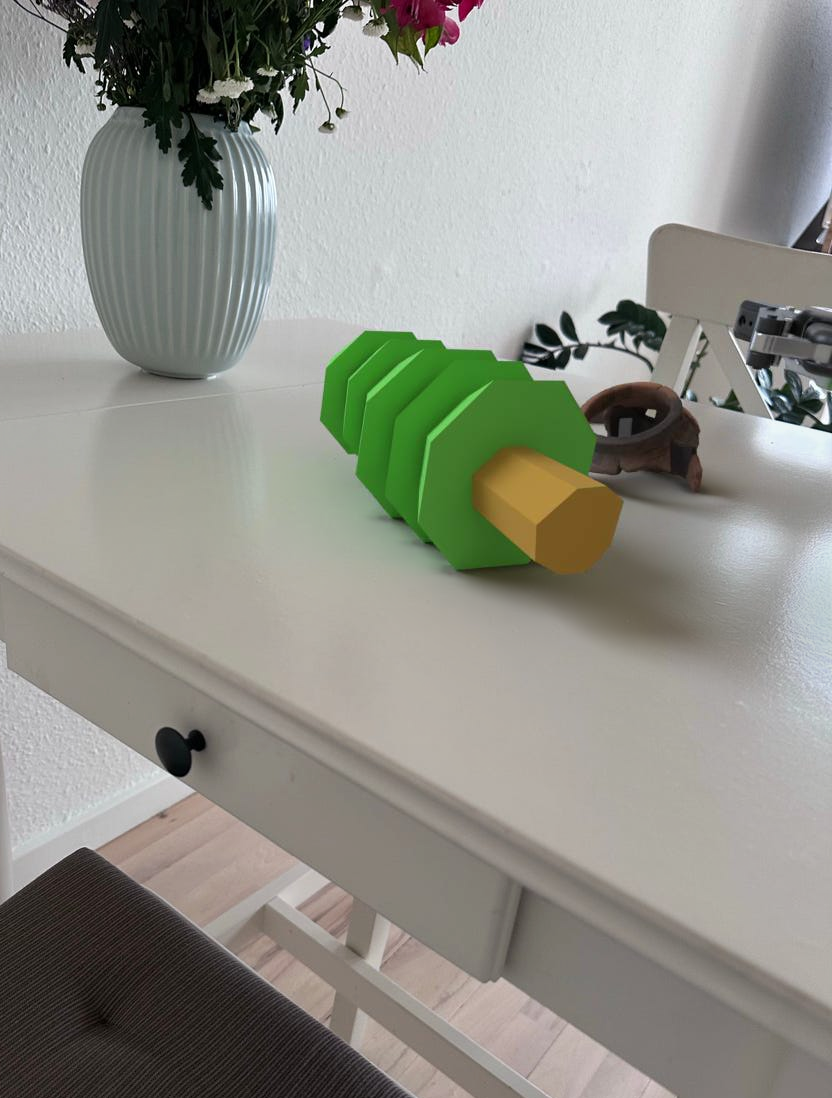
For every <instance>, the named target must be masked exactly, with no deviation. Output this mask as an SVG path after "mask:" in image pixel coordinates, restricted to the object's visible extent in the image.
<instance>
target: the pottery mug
mask: <svg viewBox="0 0 832 1098" xmlns="http://www.w3.org/2000/svg"><path fill="white" fill-rule="evenodd" d="M581 405H582V407H581V408H580V409H581V410H582V412H583V414H584V416H585V417H586V419H587V421H588V422H589V421H590V420H592V419H593V418H594V417H595V416H597V415H598V414H599V413H601V412H604V411H605V412H604V414H603V420H604V423H603V425H604V429H605V431H606V436H605V435H604V434H599V433H596V432H594V433H595V435H596V436H597V441H596V445H595V449H594V454H593V458H592V462H591V466H590V470H589V473H593V474H599V475H608V476H613V477H614V476H618V475H621V473H622V471H624V472H625V473H627V474H631V473H637V472H639V471H643V470H644V471H647V472H652V473H665V474H669V475H671V476H678V477H681V478H683V479H684V480H685V481H686V482H687V483H688V484H689V486H690V488H691V492H693V493H695V494H698V493H699V492H700V487H701V483H702V480H703V467H702V464H701V460H700V457H699V454H698V447H700V436H699V435H700V433H701V428H700V425H699V423H698V420H697V419H696V417H694V415H692V413H691V412H690V411H689V410H688V409H687V407H684V406H683V400H682V399H681V398H680V396H679V394H678V393H677V392H676V391H674V390H673V389H672V388H671V387H669V386H667V385H663V384H661V383H658V382H651V381H633V382H627V383H621V384H615V385H614V386H613V385H612V386H611V387H608V388H605V389H604V390H602V391H600V392H598V393H596V394H595V395H594V394H593V396H591V397H590V398H589V399H587V400H586V402H585V403H583V404H581ZM648 410H650V411H651V410H652V411H655V415H654V417H653V416H650V415H648V414H647V412H648Z"/></svg>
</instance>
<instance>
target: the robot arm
mask: <svg viewBox="0 0 832 1098" xmlns="http://www.w3.org/2000/svg"><path fill="white" fill-rule="evenodd" d="M732 333H733V337H734V338H735V339H738V340H741V341H744V342H748V343H749V345H748V348H747V352H746V359H745V365H746V366H749V367H751V369H753V370H757V371H762V370H763V369H764V370H765V369H766V370H767V369H770V368H771V367H774V368H778V367H780V364H781V361H782V359H784V365H785V369H786V370H788V371H790V372H792V373H795V374H798V375H801V376H804V377H806V378H809V379H811V380H813V381H814V383H815V385H816V386H817V387H818V388H821V389H824V390H827V391H829V392H832V308H829V307H821V306H813V305H806V306H804V307H802V309H801V310H799V309H796V307H795V306H789V305H786V306H784V305H780V304H777V303H773V302H769V301H759V300H750V299H749V300H748V299H745V300H744V301H742V302H741V303H740V306H739V308H738V311H737V315H736V318H735V322H734V325H733V329H732Z"/></svg>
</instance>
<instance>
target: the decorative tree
mask: <svg viewBox="0 0 832 1098" xmlns="http://www.w3.org/2000/svg"><path fill="white" fill-rule="evenodd" d="M325 367H326V368H325V373H324V381H323V390H322V398H321V407H320V415H319V422H320V423H322V425H323V427H324V428H325V429H326V430H327V431H328V432H329V433H330V434H331V436H332V437H333V438H334V439H335V440H336V442H337V443H338V444H339V445H340V446H341V448H342V449H343V451H344V452H346V454H347V455H356V456H357V460H356V461H357V462H356V468H355V476H356V477H357V479H358V480H359V481H360V482H361V483H362V484H363V486H364V487H365V488H366V489H367V490H368V492H369V493H370V494H371V495H372V497H373V498H374V499H375V500H376V501H377V502H378V504H379V505H380V506H381V507H382V509H383V510H384V511H385V512H386V513H387V514H388V515H389V517H390V518H392V519H393V518H394V519H395V518H402V519H403V520H404V521H405V522H406V523H407V525H408V526H409V527H410V528H411V529H412V531H413V532H414V533H415V534H416V536H417V537H418V538H419V539H420V541H422V543H433V545H434V546H435V547H436V548H437V549H438V551H439V552H440V553H441V554H442V556H444V558H445V559H446V560H447V562H448V563H449V564H450V565H451V567H452V568H453V569H454V570H455V571H456V570H457V571H459V570H470V569H480V568H481V569H483V568H493V567H504V566H505V567H506V566H514V565H525V564H526V565H527V564H529V563H530V562H531V560H532V561H534V562H535V563H537V564H539V566H542V567H544V568H546V569H547V570H549V571H551V572H553V573H555V574H557V575H560V576H561V575H569V574H583V573H587V572H588V571H589V570H590V569H591V568H592V567H593V565H595V564H596V563H597V561H598V560H600V558H601V557H602V556H603V555H604V554H605V553H606V552H607V551H608V549H610V547H612V543H613V539H614V537H615V533H616V530H617V525H618V523H619V519H620V516H621V512H622V510H623V506H624V502H625V501H624V500H623V498H621V497H620V496H619V495H617V494H616V493H615V491H613V490H612V489H611V488H610V487H609V486H608V485H605V484H603V483H602V482H600V481H598V480H596V479H593V478H592V477H590V476H589V474H590V472H589V470H590V466H591V462H592V458H593V454H594V449H595V445H596V441H597V436H596V435H595V433H596V432H595V431H594V430H593V428H592V426H591V423H588V421H587V419H586V417H585V416H584V414H583V412H582V410H581V409H580V407H579V405H580V404H579V403H578V402H577V400H576V398H575V397H574V395H573V393H572V391H571V390H570V388H569V386H568V384H567V383H566V381H565V380H555V379H553V380H549V379H547V380H545V379H544V380H542V379H541V380H536V379H535V380H534V378H533V377H532V375H531V373H530V371H529V369H528V368H527V367H526V365H525V363H524V362H523V360H498V358H497V357H496V356H495V354H494V352H493V351H492V350H491V349H467V348H466V349H464V348H462V349H461V348H459V349H458V348H447V347H446V346H445V344H444V343H443V341H442V340H440V339H418V338H417V337H416V335H415V334H414V332H413V331H395V330H394V331H393V330H364V331H363V332H361V333H360V334H359V335H358V336H357V337H355V338H354V339H353V340H351V342H349V343H348V344H347V345H346V346H345V347H343V348H342V349H341V350H340V351H339V352H338V353H336V354H335V355H333V356H332V357H331V358H330V359H329V361H328V363H327V365H326V366H325Z"/></svg>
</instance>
